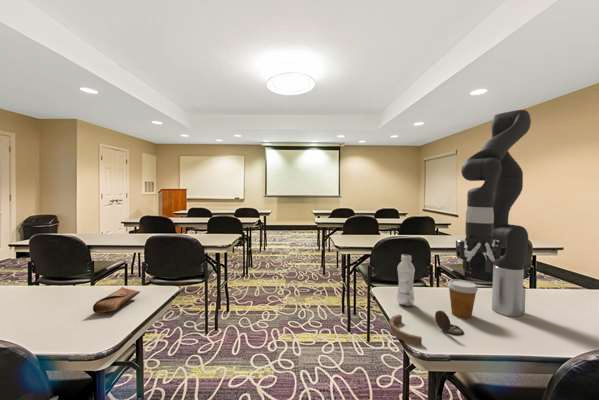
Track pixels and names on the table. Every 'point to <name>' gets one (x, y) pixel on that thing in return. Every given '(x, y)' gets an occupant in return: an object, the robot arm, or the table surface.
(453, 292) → the disposable coffee cup
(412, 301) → the plastic bottle
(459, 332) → the compass
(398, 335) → the brown segmented arc
